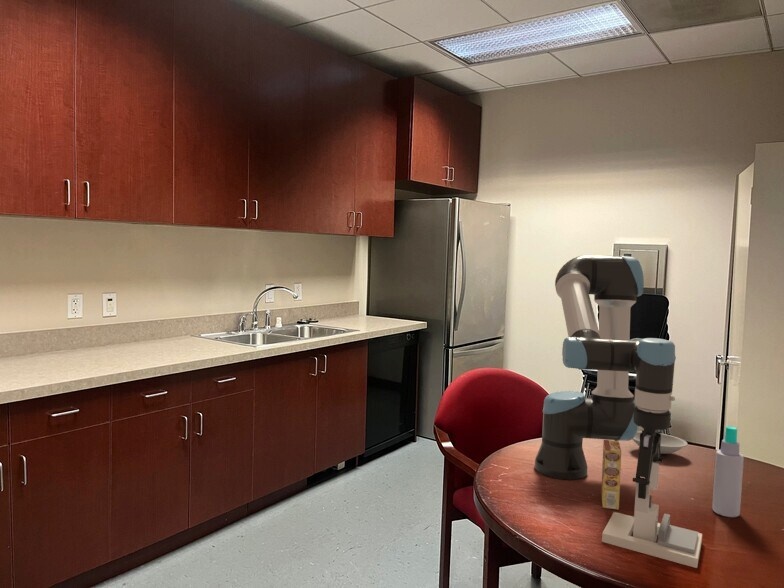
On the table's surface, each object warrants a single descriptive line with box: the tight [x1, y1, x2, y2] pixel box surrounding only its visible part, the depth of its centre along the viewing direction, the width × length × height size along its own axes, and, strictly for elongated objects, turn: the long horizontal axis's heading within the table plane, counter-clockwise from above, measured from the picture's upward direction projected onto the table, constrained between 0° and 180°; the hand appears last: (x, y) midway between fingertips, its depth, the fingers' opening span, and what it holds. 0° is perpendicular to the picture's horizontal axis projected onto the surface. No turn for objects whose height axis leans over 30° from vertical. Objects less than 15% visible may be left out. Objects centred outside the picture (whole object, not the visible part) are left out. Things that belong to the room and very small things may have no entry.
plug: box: [632, 494, 660, 543], centre depth 129 cm, size 4×4×10 cm
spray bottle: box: [711, 425, 745, 518], centre depth 144 cm, size 6×6×22 cm
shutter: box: [657, 513, 699, 554], centre depth 126 cm, size 7×10×3 cm
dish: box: [632, 430, 688, 455], centre depth 188 cm, size 18×14×5 cm
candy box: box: [601, 439, 622, 510], centre depth 149 cm, size 9×4×15 cm, turn 162°
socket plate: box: [601, 511, 703, 569], centre depth 129 cm, size 19×13×2 cm
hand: (646, 499), depth 130 cm, fingers open, 13 cm apart
